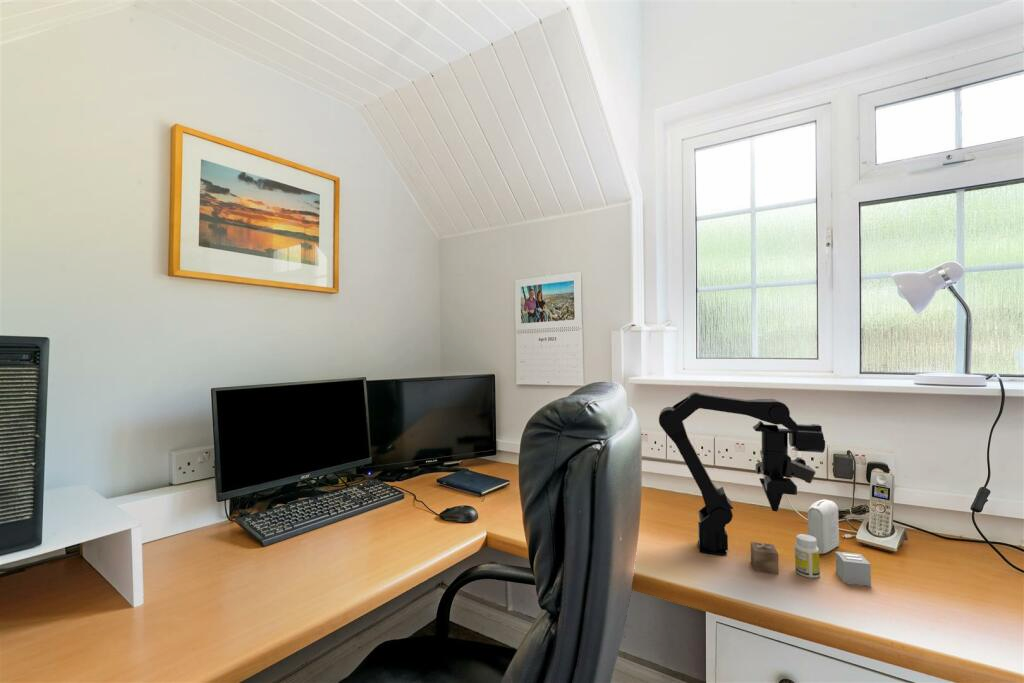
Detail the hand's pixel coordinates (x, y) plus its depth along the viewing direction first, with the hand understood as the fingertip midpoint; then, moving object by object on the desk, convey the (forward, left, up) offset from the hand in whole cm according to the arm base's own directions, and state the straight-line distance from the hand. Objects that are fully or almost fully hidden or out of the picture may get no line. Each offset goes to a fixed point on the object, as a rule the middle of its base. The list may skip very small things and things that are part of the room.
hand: (774, 510), depth 113 cm
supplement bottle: (+5, -7, -12) cm, 15 cm away
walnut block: (-4, -7, -12) cm, 14 cm away
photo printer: (+13, +9, -12) cm, 20 cm away
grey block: (+14, -7, -12) cm, 20 cm away
